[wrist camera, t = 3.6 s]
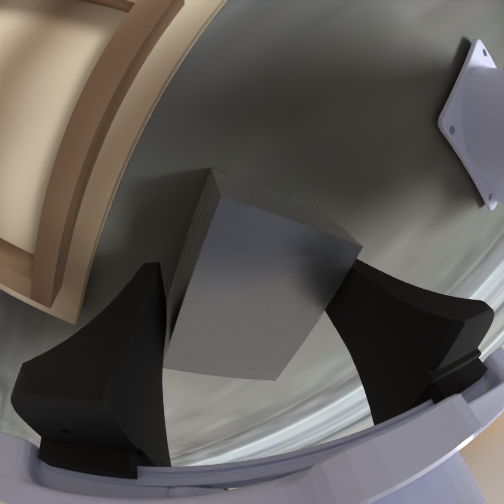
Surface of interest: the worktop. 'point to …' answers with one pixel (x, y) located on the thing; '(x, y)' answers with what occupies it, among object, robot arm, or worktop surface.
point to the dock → (76, 127)
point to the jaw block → (251, 280)
